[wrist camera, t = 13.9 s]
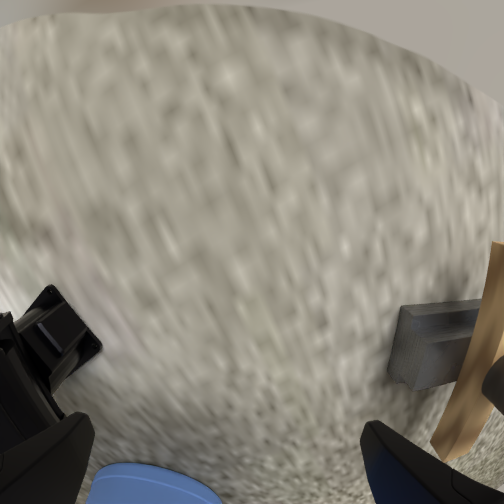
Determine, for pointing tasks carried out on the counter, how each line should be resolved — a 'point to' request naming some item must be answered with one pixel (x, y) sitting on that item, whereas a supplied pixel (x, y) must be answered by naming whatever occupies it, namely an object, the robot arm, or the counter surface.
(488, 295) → the tan grey t-shaped tool
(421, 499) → the robot arm
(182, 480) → the water jug
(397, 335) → the ridge stand
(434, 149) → the counter surface
